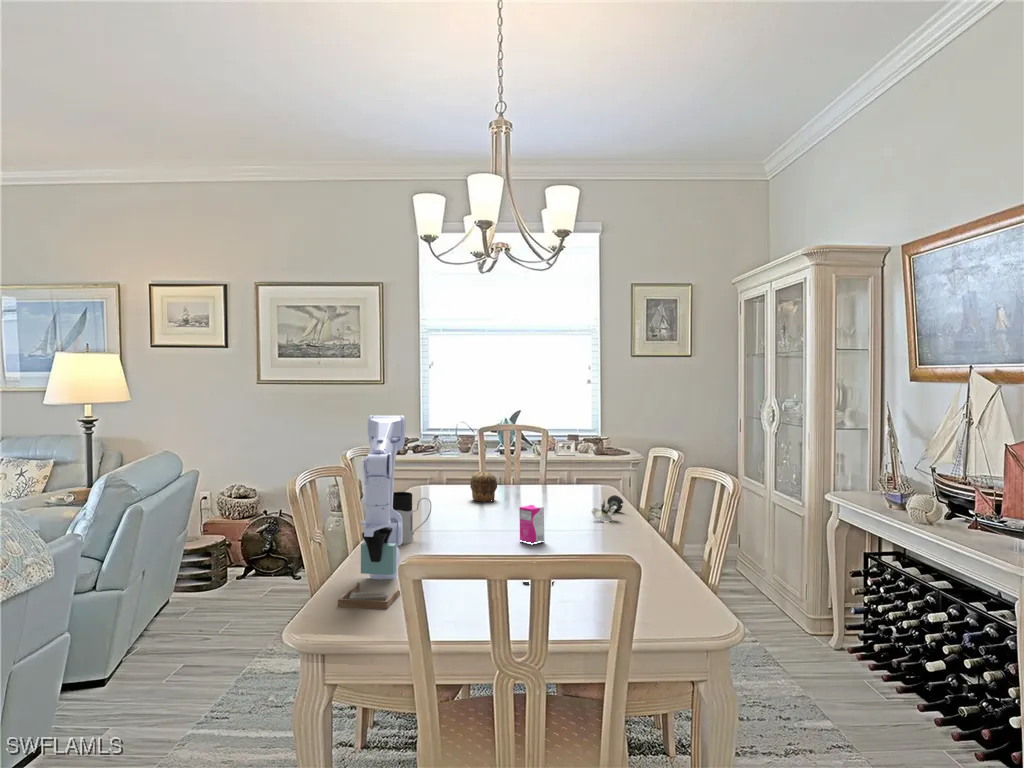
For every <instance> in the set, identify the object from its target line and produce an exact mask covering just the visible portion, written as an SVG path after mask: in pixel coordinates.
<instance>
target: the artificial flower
mask: <svg viewBox="0 0 1024 768" xmlns="http://www.w3.org/2000/svg"><path fill="white" fill-rule="evenodd" d="M623 504H624V501H623V499H622V498H621V497H620V496H618V495H611V496H610V497H608V499H607V502H606V500H605V499H602V500H601V503H600V507H601V509H599V508H597V507H593V508H592V510H591V514H592V516H593V517H594V518H595V519H598V520H599V519H600V521H601V522H602V523H603V522H604V521H611V522H612V521H613V518H612V517H611V516H610V515H609V514H613V513H614V512H615V511H619V512H620V511H622V510H623V508H624V507H623V506H624V505H623Z"/></svg>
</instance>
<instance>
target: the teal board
mask: <svg viewBox="0 0 1024 768" xmlns="http://www.w3.org/2000/svg"><path fill="white" fill-rule="evenodd" d="M395 573H396V543H383V547H382V555H381V560H380V562H371V559H370V555H369V551H368V547H367V544H366V542H364V541H363V543H360V574H365V575H367V574H368V575H369V574H382V575H394V574H395Z"/></svg>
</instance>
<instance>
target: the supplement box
mask: <svg viewBox="0 0 1024 768" xmlns="http://www.w3.org/2000/svg"><path fill="white" fill-rule="evenodd" d="M520 540H522V541H526V542H531V543H534V542H538V541H544V542H545V507H544V506H541V505H534V504H529V505H524V506H519V541H520Z"/></svg>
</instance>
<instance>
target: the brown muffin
mask: <svg viewBox="0 0 1024 768" xmlns="http://www.w3.org/2000/svg"><path fill="white" fill-rule="evenodd" d="M469 487H470V489H471V492H472V493H471V497H472V500H473V501H475V500H476V501H475V502H477V501H491V500H495V497H496V496H495V495H496V490H497V488H498V481H497V478H496V476H495V475H494V474H493V472H487V471H484V472H483V471H476V472H474V473H473V474H472V476H471V479H470V486H469ZM491 502H492V501H491Z"/></svg>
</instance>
